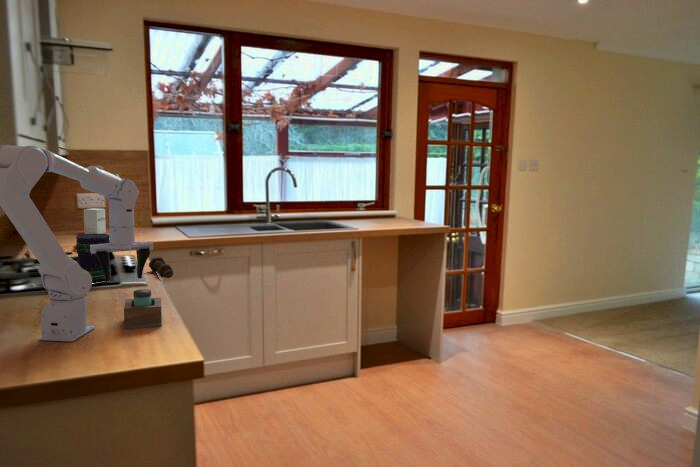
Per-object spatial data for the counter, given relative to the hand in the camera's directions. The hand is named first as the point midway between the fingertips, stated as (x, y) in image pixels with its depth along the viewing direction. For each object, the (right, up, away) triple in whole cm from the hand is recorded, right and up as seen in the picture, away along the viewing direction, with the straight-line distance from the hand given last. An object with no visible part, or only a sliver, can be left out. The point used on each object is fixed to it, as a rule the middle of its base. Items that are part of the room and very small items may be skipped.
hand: (123, 279), depth 130 cm
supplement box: (-73, +11, +130) cm, 150 cm away
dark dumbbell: (-8, -3, +48) cm, 49 cm away
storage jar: (-25, -4, +36) cm, 44 cm away
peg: (+6, -10, -3) cm, 12 cm away
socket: (+6, -11, -2) cm, 13 cm away
